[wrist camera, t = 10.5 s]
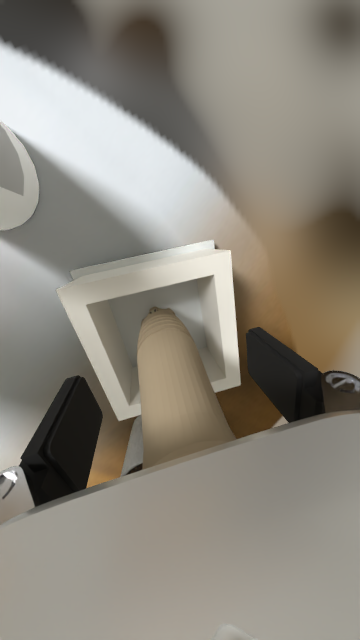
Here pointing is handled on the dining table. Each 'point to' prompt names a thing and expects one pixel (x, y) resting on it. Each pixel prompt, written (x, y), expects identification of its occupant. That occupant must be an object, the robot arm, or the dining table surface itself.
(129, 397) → the box
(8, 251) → the dining table surface
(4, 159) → the spray bottle
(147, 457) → the handle
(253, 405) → the dining table surface
